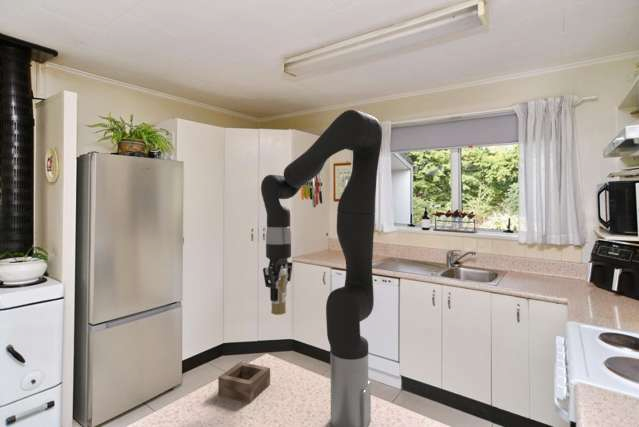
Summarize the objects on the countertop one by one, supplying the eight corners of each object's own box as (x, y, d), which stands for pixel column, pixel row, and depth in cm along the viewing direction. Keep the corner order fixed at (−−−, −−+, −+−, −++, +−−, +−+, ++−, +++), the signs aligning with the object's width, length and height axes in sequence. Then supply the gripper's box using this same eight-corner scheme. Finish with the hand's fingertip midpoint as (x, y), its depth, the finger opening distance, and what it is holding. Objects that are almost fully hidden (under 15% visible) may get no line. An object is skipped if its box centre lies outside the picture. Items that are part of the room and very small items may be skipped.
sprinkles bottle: (288, 313, 100) (288, 268, 100) (274, 316, 98) (274, 270, 98) (281, 309, 104) (281, 266, 104) (268, 312, 102) (268, 267, 102)
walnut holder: (270, 384, 100) (270, 367, 100) (249, 403, 90) (249, 384, 90) (240, 378, 104) (240, 361, 104) (218, 395, 94) (218, 377, 94)
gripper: (277, 244, 93) (277, 306, 93) (300, 240, 106) (300, 294, 106) (254, 243, 96) (254, 303, 96) (279, 239, 109) (279, 292, 109)
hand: (278, 298), depth 101 cm, fingers closed on sprinkles bottle, 4 cm apart
